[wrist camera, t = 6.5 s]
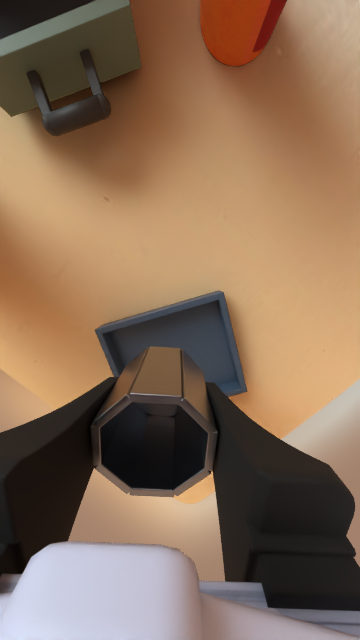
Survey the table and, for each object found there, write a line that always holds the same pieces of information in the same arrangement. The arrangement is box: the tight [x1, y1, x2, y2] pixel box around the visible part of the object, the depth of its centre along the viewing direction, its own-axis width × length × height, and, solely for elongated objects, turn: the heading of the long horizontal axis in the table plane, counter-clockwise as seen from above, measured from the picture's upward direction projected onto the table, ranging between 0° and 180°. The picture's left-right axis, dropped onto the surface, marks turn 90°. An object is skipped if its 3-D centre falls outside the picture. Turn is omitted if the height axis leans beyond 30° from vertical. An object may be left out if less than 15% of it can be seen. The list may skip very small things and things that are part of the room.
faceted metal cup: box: [90, 346, 218, 497], centre depth 10 cm, size 5×5×5 cm
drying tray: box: [95, 291, 247, 397], centre depth 20 cm, size 13×11×2 cm
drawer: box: [0, 0, 142, 136], centre depth 13 cm, size 11×15×4 cm
